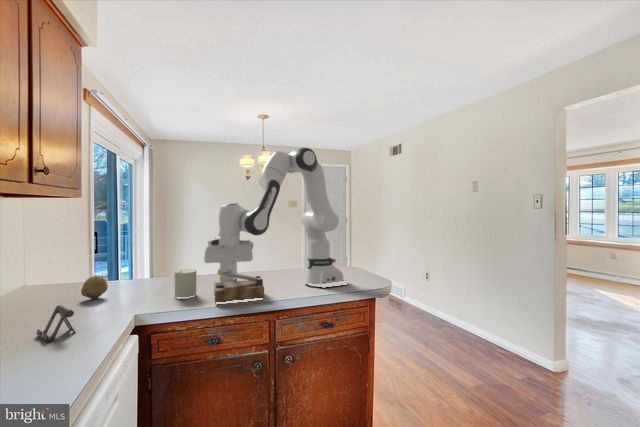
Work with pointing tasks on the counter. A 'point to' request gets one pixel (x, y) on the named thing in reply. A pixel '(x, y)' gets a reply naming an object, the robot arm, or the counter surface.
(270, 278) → the counter surface
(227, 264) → the skincare box
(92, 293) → the natural sponge
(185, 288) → the can
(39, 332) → the portable electronic device stand
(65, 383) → the counter surface
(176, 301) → the counter surface
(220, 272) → the strap
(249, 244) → the robot arm
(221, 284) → the latch base
